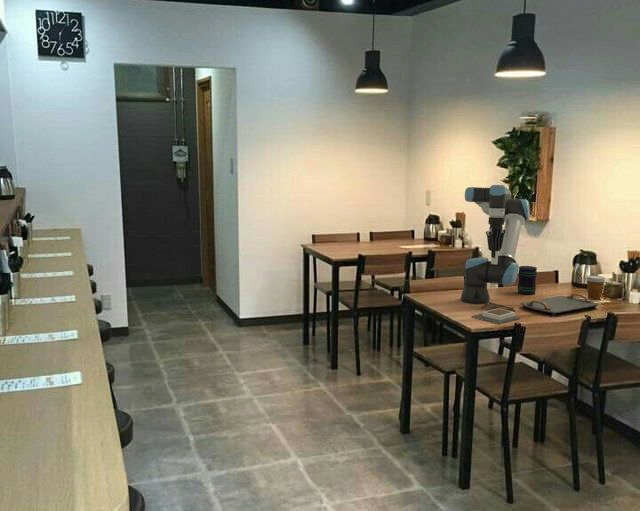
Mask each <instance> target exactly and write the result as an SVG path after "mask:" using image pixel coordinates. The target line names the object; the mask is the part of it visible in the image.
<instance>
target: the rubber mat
mask: <svg viewBox="0 0 640 511" xmlns="http://www.w3.org/2000/svg"><path fill="white" fill-rule="evenodd" d="M473 317H475V318H474V319H477V318H479V319H478V320H480V319H483V320H482V321H484V320H487V321H486V322H488V321H491V322H490V323H492V322H495V323H494V324H496V323H498V324H497V325H501V324H500V323H503V324H505V323H504V322H506V323H510V322H513V320H514V321H518V320H520V319H521V318H520V316H519V317H518V316H516V315H515V316H514V317H511V318H507V319H503V320H496V319H492V318H489V317H485V316H483V312H482V313H479V314H475V315H471V318H473ZM509 321H510V322H509Z"/></svg>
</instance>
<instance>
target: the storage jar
mask: <svg viewBox="0 0 640 511" xmlns="http://www.w3.org/2000/svg"><path fill="white" fill-rule="evenodd" d="M537 270H538V267H536V266H531V265H520V266H519V270H518V276H517V277H518V283H517V294H518V295H522V296H534V295H536V290H537V284H536V282H537V281H536V280H537V276H538V275H537V274H538V273H537Z"/></svg>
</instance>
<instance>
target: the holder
mask: <svg viewBox="0 0 640 511" xmlns="http://www.w3.org/2000/svg"><path fill="white" fill-rule="evenodd" d="M483 304H484V305H483V306H482V307H481V309H482V310H484V309H486V310H485V311H488V310H493V309H497V308H499V309H503V310H507V311H512V312H515V313H516V309H515V308H514V307H513V306H507V305H505V304H499V303H496V302H488V303H483Z"/></svg>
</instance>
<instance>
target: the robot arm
mask: <svg viewBox="0 0 640 511" xmlns="http://www.w3.org/2000/svg"><path fill="white" fill-rule="evenodd" d="M511 192H512V191H511V190H510V189H508V188H507V187H506V185H504V184H491V185H490V187H475V186H471V187H467V188H466V189H465V191H464V200H465V201H466V202H467V203H468V202H469V203H475V205H477V206H478V207H480V208H481V210H482V212H483V213H484V214H486V215H487V216H489V217H488V225H489V229H488V231H485V235H486V239H487V240H486V241H487V247H488V248H487V249H488V251H489V252H491V253H490V254H491V255H490V260H489V258H488V257H474V258H468V259H467V260H466V261H465V268H464V270H465V271H464V272H465V273H464V288H463V289H462V293H461V296H460V301H461V302H464V303H468V304H475V305H476V304H478V305H479V304H480V305H482V304H485V303H487V304H489V302H490V301H491V300H490V299H491V297H490V294H489V290H488V284H494V285H495V284H496V285H504V286H507V285H508V286H509V285H511V286H512V285H513V284H515V283H516V280H517V278H518V277H519V276H518V275H519V273H518V272H519V267H520V266H519V263H517V260H516V259H515V257H516V253H517V247H518V244H519V240H520V239H519V238H520V233H521V229H522V227H523V225H525V224H526V221H529V220H530V202H529V200H527V199H525V198H524V199H522V198H511V197H512V193H511ZM503 225H504V227H503Z"/></svg>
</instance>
